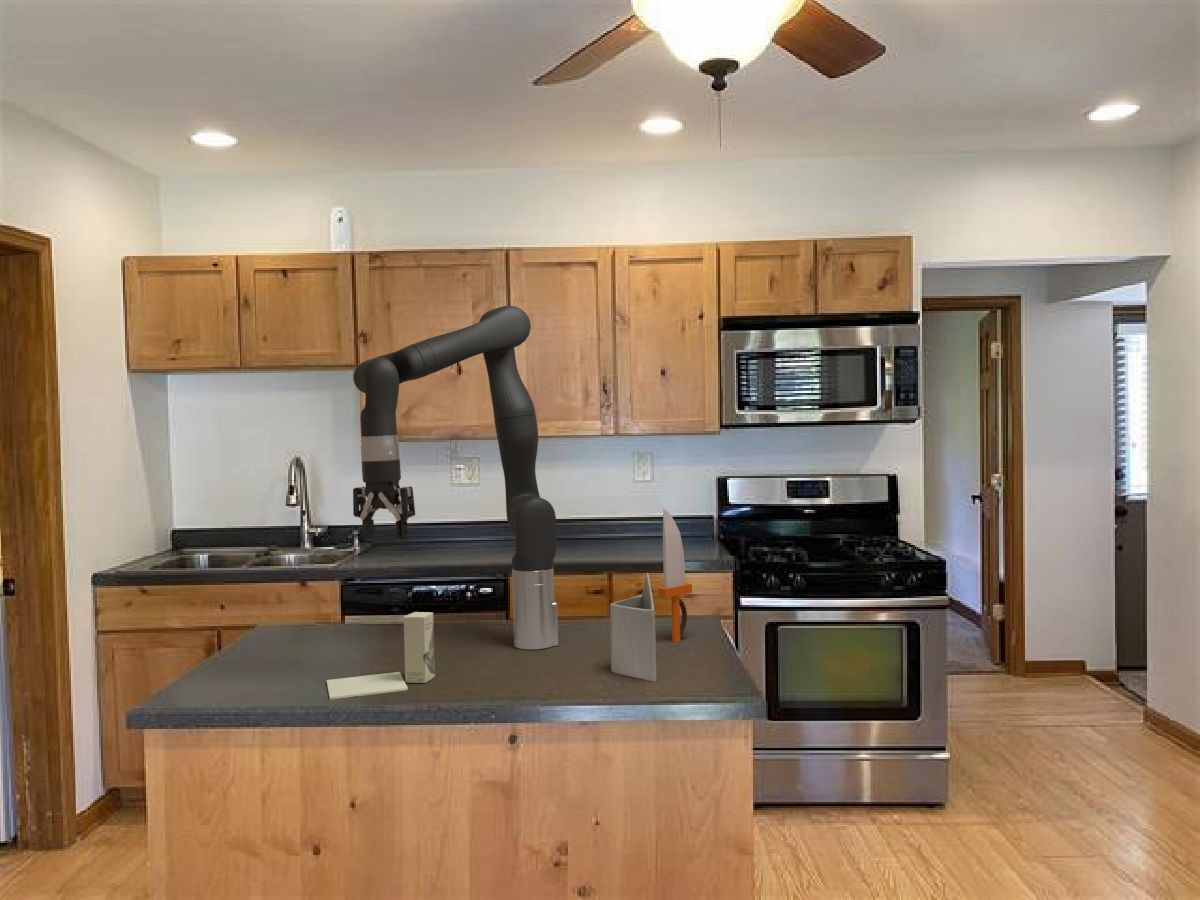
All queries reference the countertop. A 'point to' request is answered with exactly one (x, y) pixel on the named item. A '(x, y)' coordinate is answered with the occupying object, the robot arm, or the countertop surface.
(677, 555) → the knife
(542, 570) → the robot arm
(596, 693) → the countertop surface
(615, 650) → the planter
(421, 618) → the box
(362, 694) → the sage mat
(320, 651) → the countertop surface
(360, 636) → the countertop surface
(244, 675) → the countertop surface
